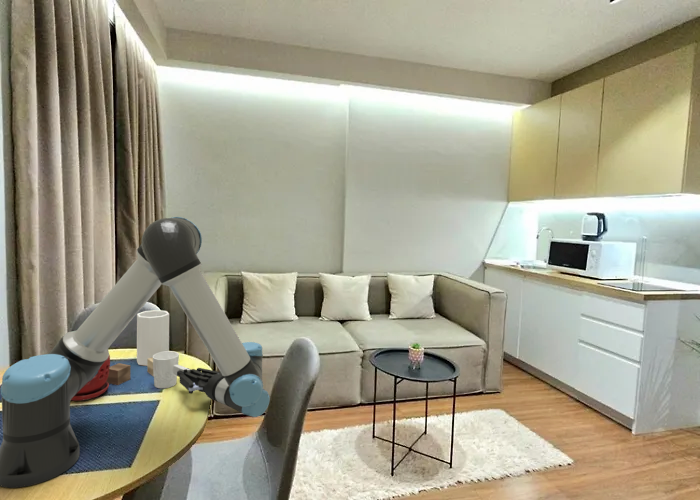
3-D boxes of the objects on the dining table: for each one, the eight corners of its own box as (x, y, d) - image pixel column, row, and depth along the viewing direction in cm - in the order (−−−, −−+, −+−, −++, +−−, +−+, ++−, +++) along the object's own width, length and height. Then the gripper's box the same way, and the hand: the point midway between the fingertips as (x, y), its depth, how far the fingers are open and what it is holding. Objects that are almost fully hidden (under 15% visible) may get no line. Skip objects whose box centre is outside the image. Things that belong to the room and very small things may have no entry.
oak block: (153, 376, 136) (153, 362, 136) (147, 372, 140) (147, 358, 139) (167, 372, 140) (167, 359, 139) (161, 368, 143) (161, 355, 143)
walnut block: (117, 385, 128) (117, 370, 128) (105, 382, 129) (105, 368, 129) (130, 379, 133) (130, 365, 132) (118, 377, 134) (118, 363, 134)
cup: (147, 368, 142) (147, 319, 140) (130, 361, 148) (130, 313, 146) (175, 360, 152) (175, 313, 150) (157, 353, 157) (158, 308, 156)
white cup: (146, 386, 128) (147, 357, 127) (165, 377, 136) (165, 349, 135) (165, 391, 126) (166, 361, 125) (183, 381, 133) (184, 353, 132)
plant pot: (87, 382, 129) (87, 347, 128) (119, 389, 125) (120, 352, 124) (47, 400, 116) (47, 361, 115) (82, 408, 113) (82, 367, 112)
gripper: (205, 410, 110) (156, 386, 122) (240, 393, 121) (192, 373, 133) (205, 384, 109) (156, 363, 122) (241, 370, 120) (193, 352, 133)
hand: (175, 369), depth 128 cm, fingers closed
